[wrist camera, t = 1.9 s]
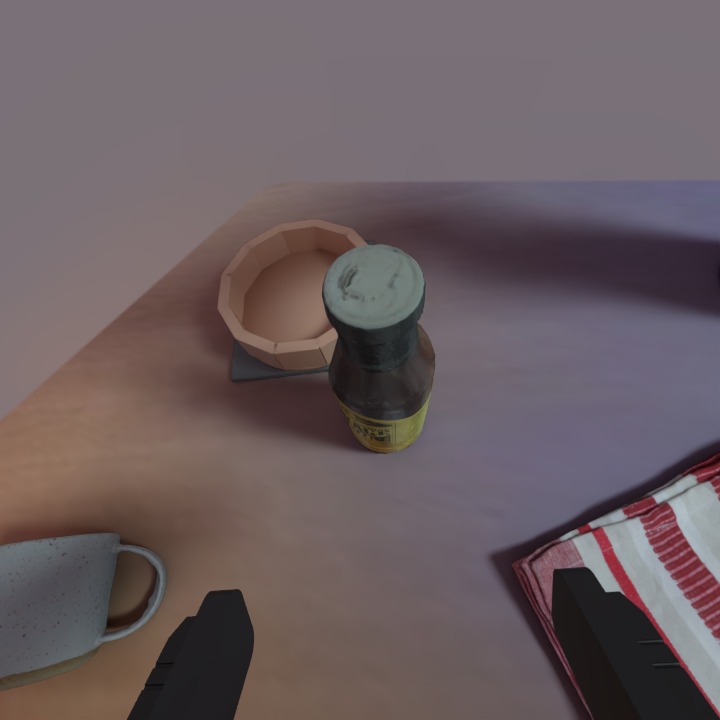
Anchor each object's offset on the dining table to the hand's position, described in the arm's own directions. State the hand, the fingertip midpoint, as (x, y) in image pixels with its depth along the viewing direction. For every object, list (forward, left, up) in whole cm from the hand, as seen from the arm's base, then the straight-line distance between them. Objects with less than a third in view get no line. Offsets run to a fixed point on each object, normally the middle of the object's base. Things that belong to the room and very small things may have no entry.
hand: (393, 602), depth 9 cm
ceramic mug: (+23, 0, -20) cm, 31 cm away
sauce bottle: (0, -11, -20) cm, 23 cm away
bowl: (+7, -24, -19) cm, 31 cm away
